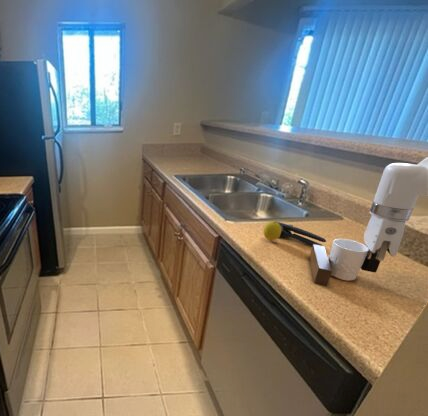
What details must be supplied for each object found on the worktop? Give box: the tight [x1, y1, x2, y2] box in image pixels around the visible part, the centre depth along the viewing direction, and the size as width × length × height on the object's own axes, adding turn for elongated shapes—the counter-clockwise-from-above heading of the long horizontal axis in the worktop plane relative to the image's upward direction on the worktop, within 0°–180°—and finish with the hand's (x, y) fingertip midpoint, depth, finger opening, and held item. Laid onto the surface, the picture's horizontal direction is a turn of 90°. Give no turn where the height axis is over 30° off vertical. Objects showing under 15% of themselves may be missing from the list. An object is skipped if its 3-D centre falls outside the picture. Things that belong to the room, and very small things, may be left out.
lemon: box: [263, 220, 281, 242], centre depth 101 cm, size 6×6×8 cm
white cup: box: [328, 238, 369, 282], centre depth 81 cm, size 8×8×10 cm
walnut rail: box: [308, 244, 332, 287], centre depth 84 cm, size 3×16×5 cm, turn 149°
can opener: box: [276, 221, 327, 247], centre depth 102 cm, size 18×7×6 cm, turn 39°
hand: (367, 269), depth 79 cm, fingers closed
